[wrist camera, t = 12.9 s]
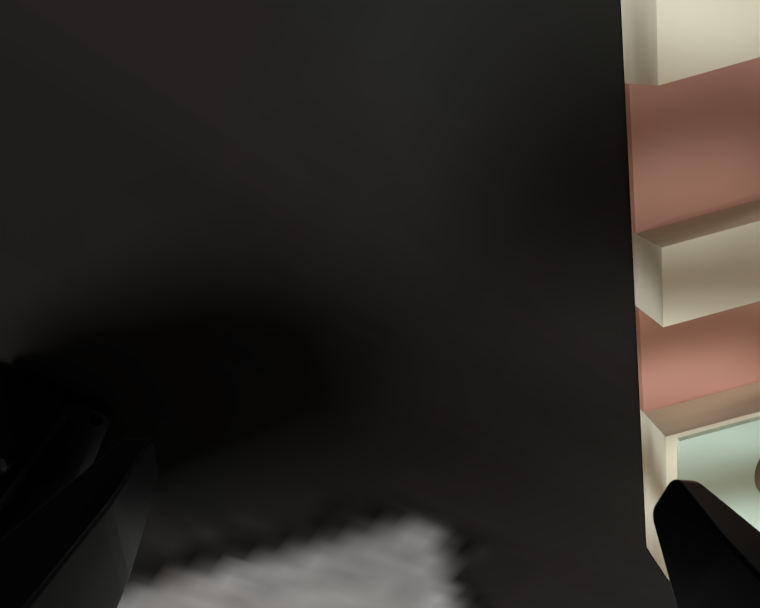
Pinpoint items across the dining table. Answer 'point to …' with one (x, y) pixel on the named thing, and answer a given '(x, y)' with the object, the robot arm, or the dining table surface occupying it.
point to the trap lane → (696, 244)
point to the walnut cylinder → (757, 476)
